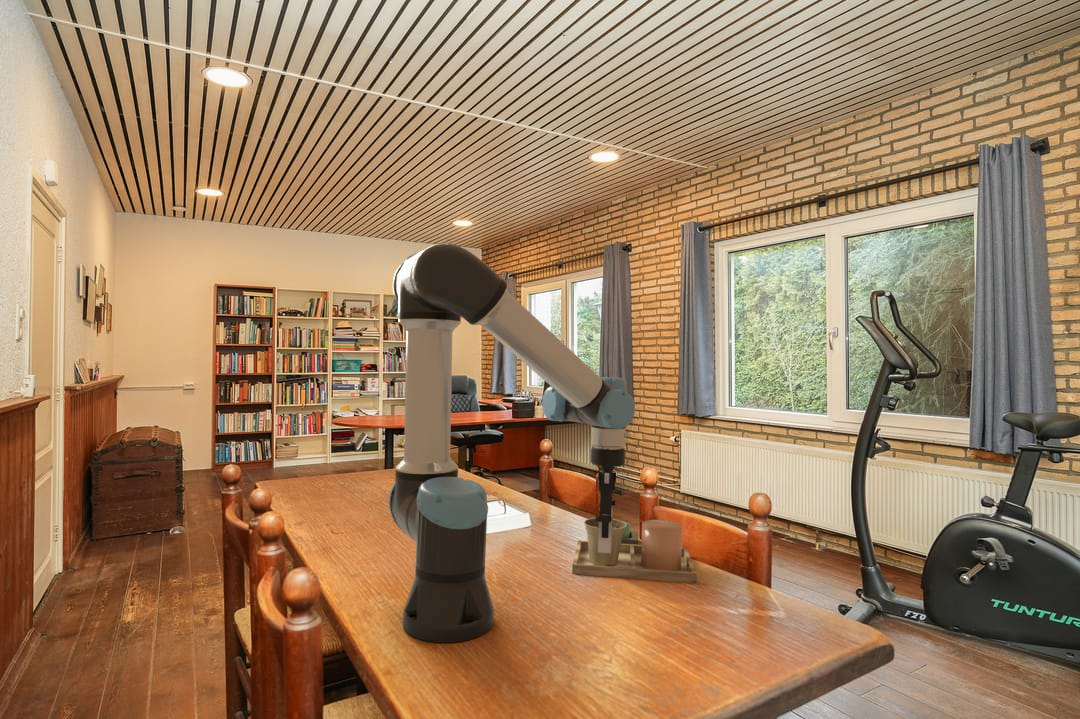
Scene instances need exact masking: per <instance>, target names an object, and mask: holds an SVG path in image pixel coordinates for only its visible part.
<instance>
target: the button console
mask: <svg viewBox="0 0 1080 719" xmlns="http://www.w3.org/2000/svg"><path fill="white" fill-rule="evenodd" d="M639 540H640V539H639V533H638V531H637V530H630V538H623V537H622V540H621V544H635V545H639V542H640V541H639Z"/></svg>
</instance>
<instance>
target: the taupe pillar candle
mask: <svg viewBox="0 0 1080 719" xmlns="http://www.w3.org/2000/svg"><path fill="white" fill-rule="evenodd" d="M682 544H683V526H682V524H680V523H677V522H675V521H670V520H663V519H649V520H644V521H643V522H642V524H641V544H640V545H641V566H642V567H643V568H644V569H651V570H665V571H680V570H681V552H682V548H683V545H682Z"/></svg>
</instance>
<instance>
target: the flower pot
mask: <svg viewBox="0 0 1080 719" xmlns="http://www.w3.org/2000/svg"><path fill="white" fill-rule="evenodd" d="M622 521H623V520H619V519H615V518H612V534H611V553H599V552H598V534H599V522H596V517H591V518H588V519H585V520H584V521H583V525H584V526H585V531H586V533H587V534H586V536H587V541H588V548H589V561H591V562H592V563H593V564H595V565H600V566H607V565H611V566H613V565H616V564H617V563H618V557H619V551H620V546H621V540H622V534H623V533H624V529H625V528H626V526H627V525H626V523H624V522H625V521H624V522H622Z"/></svg>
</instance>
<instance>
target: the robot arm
mask: <svg viewBox="0 0 1080 719" xmlns="http://www.w3.org/2000/svg"><path fill="white" fill-rule="evenodd" d="M392 279H393V280H392V292H393V295H394V296H393V297H394V298H395V300H396V302H397V304H398V314H397V315H398V316H397V317H398V319H397V320H398V324H400V325H401V327H403V329H405V333H406V335H405V338H406V339H405V340H406V344H405V383H404V384H405V387H404V389H405V390H404V391H405V392H404V393H405V394H404V436H403V437H404V441H403V443H404V444H403V449H404V450H403V451H404V452H403V459H402V460H401V461H400V462H399V463H398V464H397V465H396V466H395V482H394V483H393V485H392V487H391V489H390V491H389V495H388V508H389V512H390V514H391V518H392V519H393V521H394V523H395V524H396V526H397V527H398V528H399V529H400V530H401V531H403V533H405V534H407V536H409V537H410V538H411V539H412V540H413V541H414V542H415V571H414V572H415V574H414V575H415V576H414V579H413V583H412V585H411V588H410V591H409V594H408V597H407V600H406V603H405V605H404V608H403V612H402V628H403V630H404V632H406V633H407V634H408V635H410V636H412V637H413V638H415V639H418V640H422V641H426V642H432V643H456V642H458V643H459V642H463V641H464V642H465V641H468V640H472V639H475V638H478V637H480V636H482V635H485V634H486V633H487V632H489V631H490V630H491V629H492V628H493V626H494V619H495V618H494V616H495V609H494V604H493V600H492V597H491V594H490V590H489V586H488V583H487V579H486V575H485V574H486V548H487V531H488V530H487V527H488V525H487V524H488V522H487V521H488V513H489V506H488V497H487V492H486V489H485V488H484V487H483V485H481V484H480V483H478V482H477V481H474V480H471V479H464V478H463V477H459V466H458V464H457V463H456V462H455V461H454V460H453V459H452V458H451V434H452V433H451V431H452V430H451V429H452V428H451V427H452V426H451V424H452V382H453V381H452V378H453V377H452V376H453V372H452V371H453V370H452V368H453V366H452V364H453V363H452V362H453V332H454V331H455V330H456V328H458V327H459V326H460V325H461V320H462V319H464V320H465V321H466V322H467V323H468V324H470V325H471V326H479V325H480V326H481V327H482V328H483V329H484V330H485V331H486V332H488V333H489V335H491V336H492V337H493V338H495V339H496V340H497V341H498V342H499V343H500V344H502V345H503V346H504V347H505V349H508V350H509V351H510V352H511V353H512V354H514V356H515V357H516V358H517V359H519V360H520V361H521V362H522V363H524V364H525V365H526V366H527V367H529V369H530V370H531V371H533V372H534V374H535V373H536V374H537V375H538V376H539V377H540V378H541V379H542V380H543V381H545V383H547V384H548V385H549V386H548V387H547V388H546V389H545V390H544V393H543V395H542V410H543V414H544V415H545V417H546V419H548V420H549V421H551V422H560V423H563V422H574V423H578V424H579V423H580V424H584V425H590V426H591V430H590V431H591V434H590V444H591V445H592V447H591V448H590V464H592V465H594V466H598V467H601V471H598V473H597V474H598V475H597V482H598V493H599V494H600V496H599V499H600V500H599V516H598V517H595V518H596V522H599V534H598V552H599V553H611V534H612V519H613V507H615V506H616V500H614V499H613V498H614V497H613V495H614V494H615V492H616V491H615V490H616V489H615V488H616V487H615V485H616V483H617V472H613V471H614V467H616V468H617V467H618V468H619V467H623V466H625V463H626V462H625V461H626V449H625V448H624V447H625V446H626V438H628V437H629V432H626V427H627V426H628V425H629V424H630V423H631V422H632V419H633V418H634V416H635V413H636V404H635V401H634V399H633V397H632V395H631V394H630V393H628V387H627V385H628V384H627V381H626V379H625V378H622V377H613V376H612V377H610V376H609V377H608V376H599V375H598V374H597V373H596V372H595V371H594V370H593V369H592V368H590V366H588V365H587V364H586V363H585V362H584V361H583V360H582V359H581V358H580V357H579V356H577V354H575V353H574V351H572V350H571V349H570V348H569V347H568V346H567V345H565V343H564V342H562V341H561V340H560V339H559V338H558V337H557V336H556V335H555V334H554V333H552V331H551V330H550V329H549V328H547V327H546V326H545V325H544V324H543V323H542V322H541V321H540V320H539V319H538V318H536V317H535V316H534V314H532V313H531V312H530V311H529V310H528V309H527V308H526V307H525V306H523V304H522V303H521V302H519V301H518V300H517V299H516V298H515V297H514V296H513V295H512V294H510V292H509V284H508V283H507V282H506V281H505V280H504V279H503V278H502V277H501V276H499V274H498V273H497V272H496V271H494V270H493V269H492V268H491V267H490V266H488V264H487V263H485V262H484V261H483V260H482V259H480V258H479V257H477V255H475V254H474V253H472V252H471V251H469V250H468V249H466V248H464V247H462V246H460V245H458V244H452V243H438V244H437V243H436V244H433V245H431V246H429V247H427V248H425V249H423V250H422V251H418V252H415V253H413V254H412V255H410V256H407V257H406V259H404V260H403V261H402V262H401V263H400V265H399V266H398V268H397V269H396V271H395V272H394V276H393V278H392ZM461 318H462V319H461Z"/></svg>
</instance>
